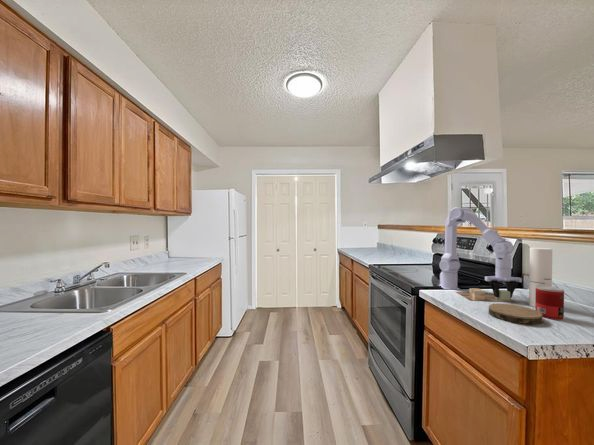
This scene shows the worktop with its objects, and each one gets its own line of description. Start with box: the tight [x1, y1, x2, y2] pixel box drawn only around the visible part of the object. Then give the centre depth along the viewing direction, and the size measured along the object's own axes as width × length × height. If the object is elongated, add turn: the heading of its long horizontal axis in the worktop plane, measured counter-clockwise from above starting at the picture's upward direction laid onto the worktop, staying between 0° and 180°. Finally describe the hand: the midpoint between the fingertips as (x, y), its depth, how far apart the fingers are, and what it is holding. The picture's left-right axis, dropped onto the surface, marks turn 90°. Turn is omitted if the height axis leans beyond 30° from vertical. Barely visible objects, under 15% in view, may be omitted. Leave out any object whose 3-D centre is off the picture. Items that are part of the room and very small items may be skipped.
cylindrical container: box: [528, 247, 553, 308], centre depth 115 cm, size 7×7×25 cm
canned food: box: [534, 285, 565, 321], centre depth 104 cm, size 8×8×11 cm
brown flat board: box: [455, 291, 519, 304], centre depth 128 cm, size 15×20×1 cm
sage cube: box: [495, 289, 511, 301], centre depth 125 cm, size 4×4×4 cm
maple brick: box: [469, 288, 486, 300], centre depth 126 cm, size 4×4×4 cm
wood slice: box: [488, 303, 543, 326], centre depth 103 cm, size 16×16×3 cm
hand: (502, 297), depth 125 cm, fingers open, 5 cm apart
